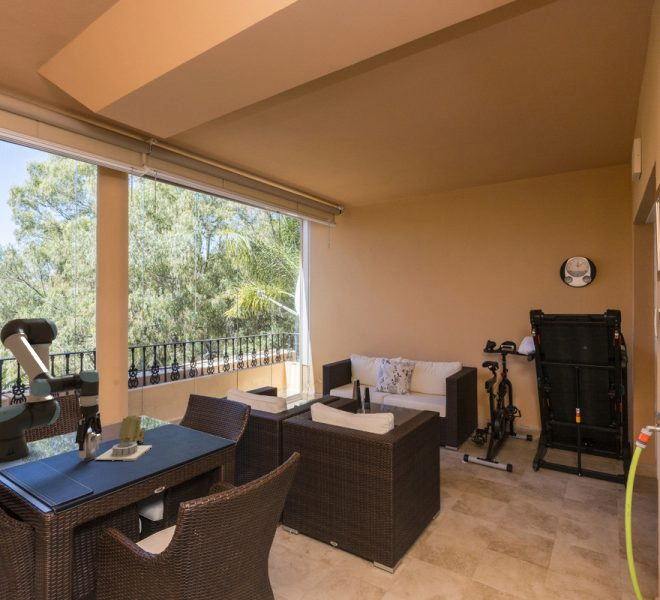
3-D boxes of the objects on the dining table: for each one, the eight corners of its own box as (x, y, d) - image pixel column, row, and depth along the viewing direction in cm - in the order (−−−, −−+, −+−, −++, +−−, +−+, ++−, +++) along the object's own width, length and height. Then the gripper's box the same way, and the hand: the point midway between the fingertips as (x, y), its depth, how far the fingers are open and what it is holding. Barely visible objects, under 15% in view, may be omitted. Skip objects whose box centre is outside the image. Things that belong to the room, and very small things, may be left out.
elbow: (80, 461, 186) (80, 434, 186) (86, 457, 191) (87, 431, 191) (96, 461, 186) (97, 434, 186) (103, 457, 191) (103, 431, 191)
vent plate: (95, 460, 186) (95, 452, 186) (116, 447, 204) (116, 439, 204) (134, 460, 186) (134, 451, 186) (152, 447, 204) (152, 439, 204)
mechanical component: (145, 455, 214) (153, 415, 222) (127, 451, 198) (136, 409, 207) (131, 454, 215) (139, 415, 223) (112, 451, 199) (122, 409, 207)
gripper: (83, 410, 178) (82, 462, 177) (110, 399, 200) (110, 445, 199) (65, 410, 178) (65, 462, 177) (95, 399, 200) (94, 445, 199)
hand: (89, 453), depth 188 cm, fingers open, 9 cm apart
